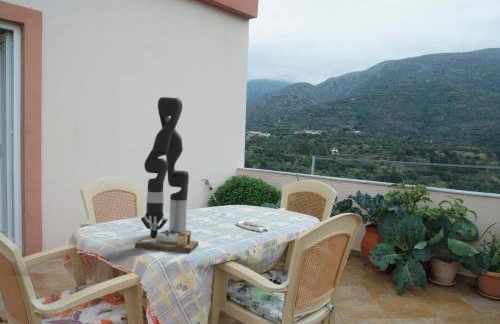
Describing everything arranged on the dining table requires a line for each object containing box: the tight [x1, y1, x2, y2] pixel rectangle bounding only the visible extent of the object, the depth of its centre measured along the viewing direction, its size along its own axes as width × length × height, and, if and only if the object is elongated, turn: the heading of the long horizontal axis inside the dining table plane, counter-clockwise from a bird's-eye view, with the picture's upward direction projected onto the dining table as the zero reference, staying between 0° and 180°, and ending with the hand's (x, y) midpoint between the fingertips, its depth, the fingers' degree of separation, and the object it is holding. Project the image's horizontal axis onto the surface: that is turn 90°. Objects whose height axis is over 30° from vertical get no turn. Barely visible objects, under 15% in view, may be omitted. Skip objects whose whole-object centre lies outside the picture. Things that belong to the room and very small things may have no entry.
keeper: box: [177, 230, 192, 246], centre depth 160 cm, size 7×4×5 cm, turn 171°
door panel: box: [134, 236, 199, 254], centre depth 162 cm, size 12×26×2 cm, turn 81°
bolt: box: [156, 229, 178, 243], centre depth 162 cm, size 3×10×5 cm, turn 81°
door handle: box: [234, 220, 269, 233], centre depth 209 cm, size 3×10×25 cm
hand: (153, 238), depth 163 cm, fingers closed
